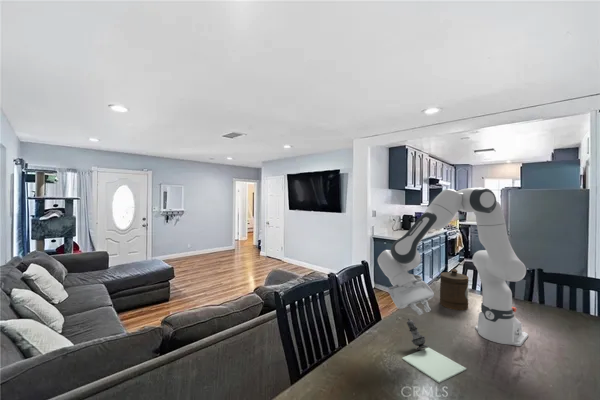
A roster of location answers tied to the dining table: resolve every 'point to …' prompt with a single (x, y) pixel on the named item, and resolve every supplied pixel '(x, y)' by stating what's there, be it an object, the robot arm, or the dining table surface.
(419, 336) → the grey metal vase shape
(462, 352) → the dining table surface
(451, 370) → the mat
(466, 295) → the wooden container
